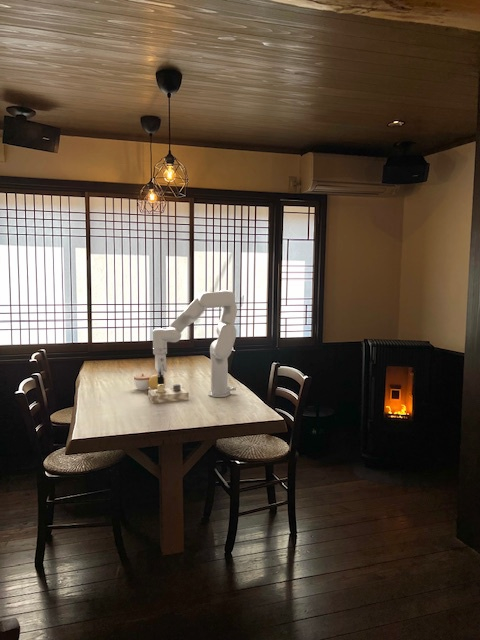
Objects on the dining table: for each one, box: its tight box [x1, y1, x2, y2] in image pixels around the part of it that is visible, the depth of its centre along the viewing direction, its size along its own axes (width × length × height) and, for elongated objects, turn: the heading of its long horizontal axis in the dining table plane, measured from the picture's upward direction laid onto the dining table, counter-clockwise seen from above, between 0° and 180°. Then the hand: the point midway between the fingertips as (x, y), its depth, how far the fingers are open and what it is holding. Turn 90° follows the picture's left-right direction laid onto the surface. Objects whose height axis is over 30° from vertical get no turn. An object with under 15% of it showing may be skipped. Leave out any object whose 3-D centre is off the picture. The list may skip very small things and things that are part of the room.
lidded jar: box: [133, 372, 152, 391], centre depth 283 cm, size 11×11×9 cm
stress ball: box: [148, 373, 166, 390], centre depth 278 cm, size 10×10×10 cm
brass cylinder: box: [157, 384, 166, 394], centre depth 261 cm, size 4×4×8 cm
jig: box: [147, 383, 190, 404], centre depth 262 cm, size 20×13×7 cm, turn 110°
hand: (160, 383), depth 260 cm, fingers closed
